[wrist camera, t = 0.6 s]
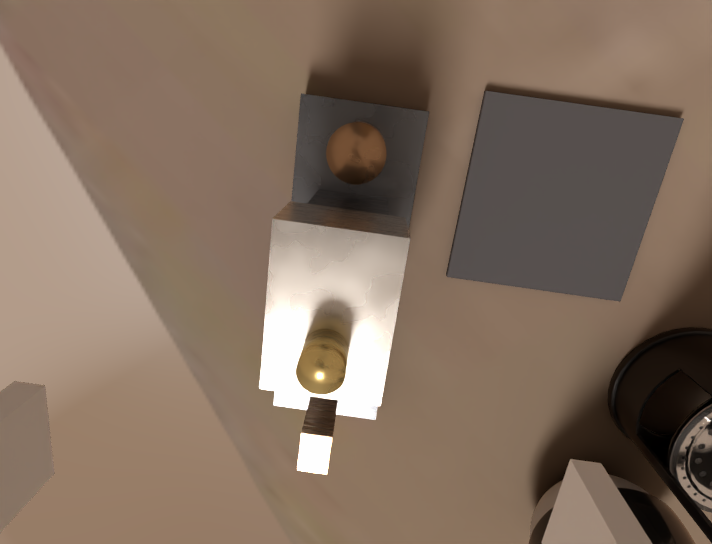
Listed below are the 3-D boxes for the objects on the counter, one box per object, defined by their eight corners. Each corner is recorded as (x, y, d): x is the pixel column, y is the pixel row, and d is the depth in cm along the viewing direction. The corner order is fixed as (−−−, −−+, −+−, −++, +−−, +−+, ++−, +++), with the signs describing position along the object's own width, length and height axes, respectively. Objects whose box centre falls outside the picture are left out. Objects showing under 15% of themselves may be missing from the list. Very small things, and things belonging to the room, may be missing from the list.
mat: (484, 91, 26) (486, 90, 25) (679, 118, 26) (683, 118, 25) (446, 274, 29) (446, 276, 29) (617, 299, 29) (620, 301, 29)
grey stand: (305, 94, 26) (272, 85, 18) (426, 111, 26) (446, 110, 18) (278, 392, 33) (245, 482, 25) (375, 406, 33) (374, 501, 25)
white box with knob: (290, 201, 22) (260, 230, 17) (405, 217, 22) (414, 252, 17) (277, 347, 25) (247, 415, 19) (380, 362, 25) (380, 434, 19)
